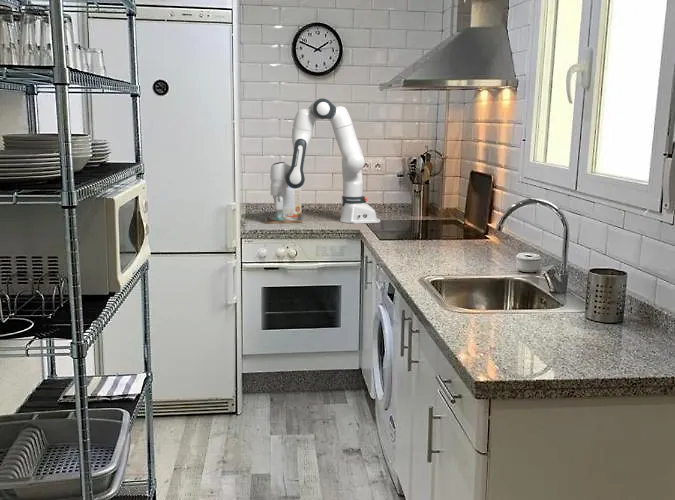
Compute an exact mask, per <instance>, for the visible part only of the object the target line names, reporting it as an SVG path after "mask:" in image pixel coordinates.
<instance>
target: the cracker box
mask: <svg viewBox="0 0 675 500" xmlns="http://www.w3.org/2000/svg"><path fill="white" fill-rule="evenodd" d="M302 211H303V209H302V186H301V187H300V188H296V189H294V188H291V187H289V186H288V185H287V195H285V196H284V198H283V211H281V212H283V217H298V214H301V217H302V216H303V214H302Z"/></svg>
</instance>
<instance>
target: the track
mask: <svg viewBox="0 0 675 500" xmlns="http://www.w3.org/2000/svg"><path fill="white" fill-rule="evenodd" d="M302 220H303V219H302V216H301V214H298V217H283V220H275V216H273V217H272V216H271V217H270V216H269V211H264V224H267V225H268V224H269V225H270V224H274V225H275V224H276V225H277V224H303V221H302Z"/></svg>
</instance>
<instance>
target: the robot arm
mask: <svg viewBox="0 0 675 500" xmlns="http://www.w3.org/2000/svg"><path fill="white" fill-rule="evenodd" d="M318 120H328V121H329V122H330V124H331V126H332V129H333V133H334V137H335V140H336V143H337V146H338V148H339V152H340V153H341V156H342V157H341V172H342V173H341V174H342V196H341V215H340V219H339V222H341V223H345V224H346V223H347V224H354V225H355V224H379V223H381V219H380V218H378V217H377V212H376V210H375V209H374V208H373V207H372V206H370V205H369V204H368V203H367V202H368V201H369V198H368V197H366V196H364V194H363V193H364V181H363V180H364V179H363V171H362V170H363V168H364V166H365V164H366V162H365V156H364V152H363V151H362V147H361V144H360V143H359V142H360V141H359V139H358V137H357V133H356V130H355V127H354V124H353V120H352V117H351V116H350V113H349V111H348V109H347V108H346V107H345V106H343V105H342V106H341V105H339V106H338V105H337V106H335V105H334V104H333V103H332V102H331V101H330V100H329V99H327V98H325V97H324V98H317V99H316V100H314V101H313V103H311V105H310V106H309V107H308V108H300V109H298V110H297V111H296V114H295V117H294V120H293V123H292V129H291V142H292V146H293V153H292V160H291V165H289V164H288V163H286V162H285V161H279V162H275V163H273V164H272V165H271V167H270V171H269V172H270V182H271V183H270V196H272V199H273V202H274V208H275V210H276V212H277V217H278V218H281V211H283V198H284V196H285V195H287V185H288V186H289V187H291V188H294V189H296V188H300V187H301V188H302V187H303V185H304V183H305V181H306V179H305V177H306V176H305V174H304V166H305V165H304V163H305V158H306V152H307V150H308V147H309V146H310V142H311V141H312V137H313V131H314V126H315V123H316V122H317V121H318Z"/></svg>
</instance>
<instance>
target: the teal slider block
mask: <svg viewBox="0 0 675 500" xmlns="http://www.w3.org/2000/svg"><path fill="white" fill-rule="evenodd" d="M274 217H275V220H283V212H281V218H278V217H277V211H275V212H274Z"/></svg>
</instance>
